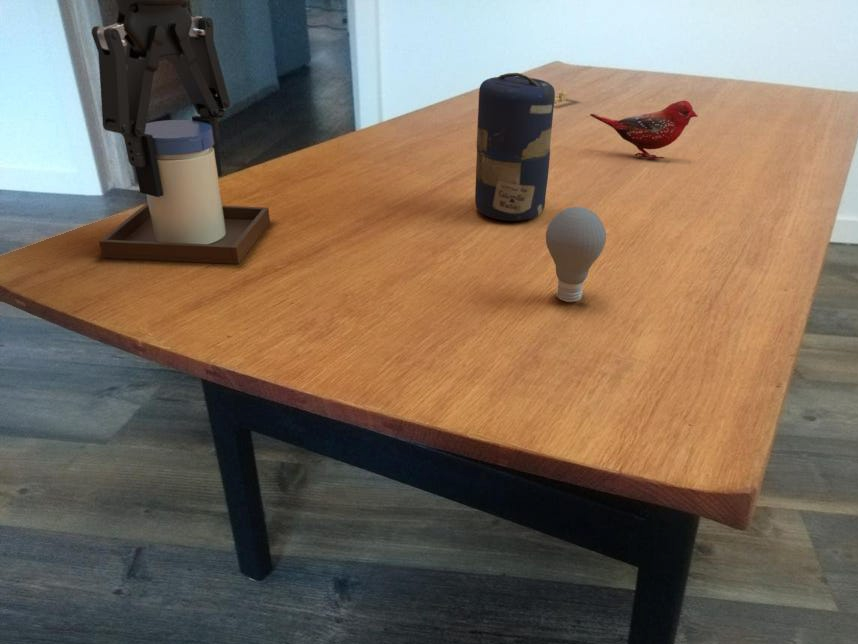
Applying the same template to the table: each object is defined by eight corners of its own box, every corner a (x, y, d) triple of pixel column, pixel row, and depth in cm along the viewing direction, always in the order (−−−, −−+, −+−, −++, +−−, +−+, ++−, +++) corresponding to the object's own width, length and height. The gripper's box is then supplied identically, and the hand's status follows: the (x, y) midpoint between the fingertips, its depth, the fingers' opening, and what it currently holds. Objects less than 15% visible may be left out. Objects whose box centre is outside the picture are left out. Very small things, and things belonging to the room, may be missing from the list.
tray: (102, 258, 83) (98, 241, 82) (150, 217, 95) (147, 202, 94) (238, 264, 83) (236, 247, 82) (270, 222, 95) (268, 207, 94)
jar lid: (230, 142, 85) (228, 126, 84) (176, 159, 79) (173, 142, 78) (175, 132, 88) (172, 116, 87) (119, 147, 82) (115, 131, 81)
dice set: (534, 101, 164) (535, 92, 163) (548, 97, 168) (549, 89, 167) (553, 105, 161) (554, 95, 160) (567, 101, 165) (568, 92, 164)
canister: (510, 197, 107) (518, 63, 98) (559, 215, 101) (572, 75, 92) (459, 210, 101) (463, 70, 92) (508, 231, 95) (517, 83, 86)
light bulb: (552, 283, 82) (561, 194, 77) (605, 295, 80) (617, 205, 75) (531, 304, 77) (539, 211, 72) (586, 318, 75) (598, 223, 70)
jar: (143, 246, 85) (122, 145, 79) (170, 221, 92) (152, 126, 86) (213, 249, 85) (197, 148, 79) (234, 224, 92) (221, 129, 86)
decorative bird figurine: (688, 166, 124) (699, 104, 119) (583, 152, 129) (590, 92, 124) (690, 161, 126) (701, 100, 121) (587, 148, 131) (594, 89, 126)
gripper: (195, -46, 83) (224, 157, 95) (20, -41, 67) (80, 203, 79) (247, -42, 81) (270, 167, 92) (77, -36, 64) (130, 216, 76)
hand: (182, 183), depth 86 cm, fingers closed on jar lid, 8 cm apart
